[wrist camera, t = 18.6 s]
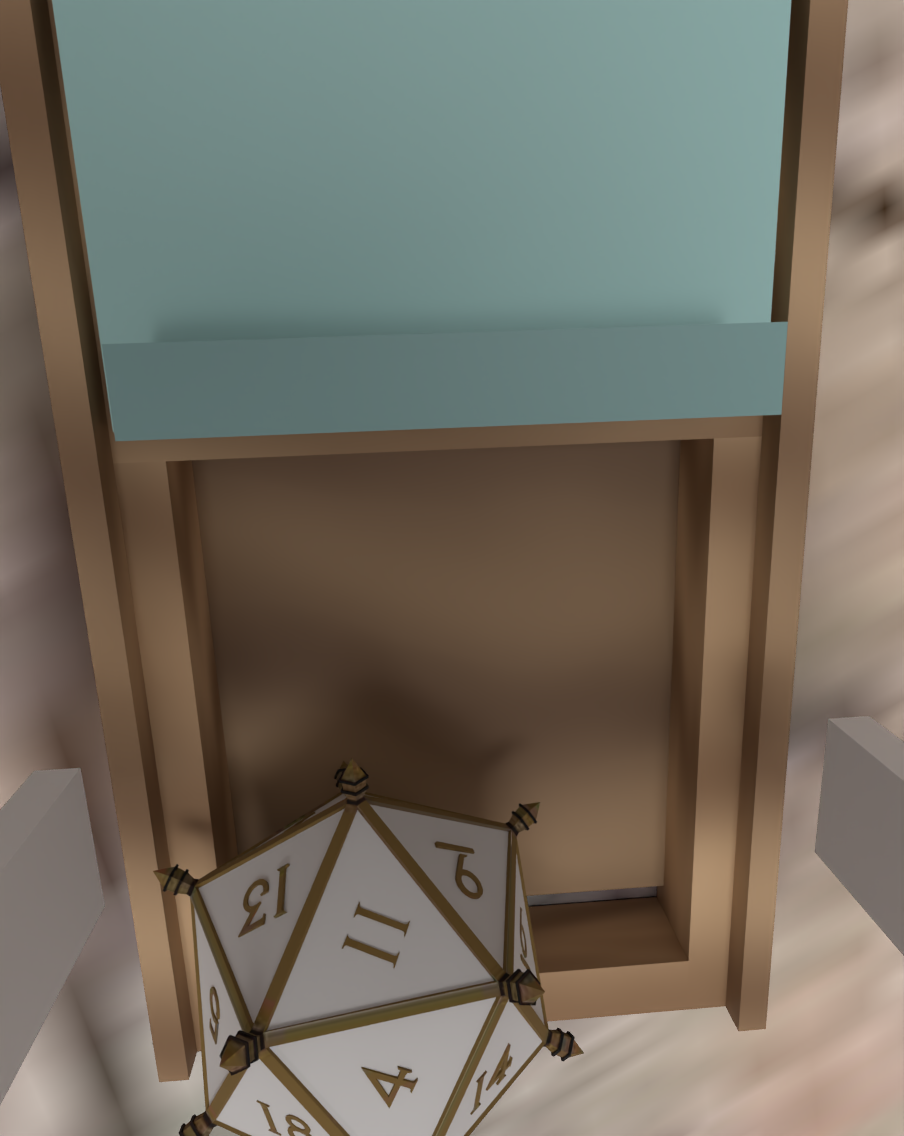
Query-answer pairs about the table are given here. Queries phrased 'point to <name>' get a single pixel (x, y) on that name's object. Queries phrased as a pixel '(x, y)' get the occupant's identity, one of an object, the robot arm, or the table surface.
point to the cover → (428, 210)
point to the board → (453, 616)
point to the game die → (366, 972)
